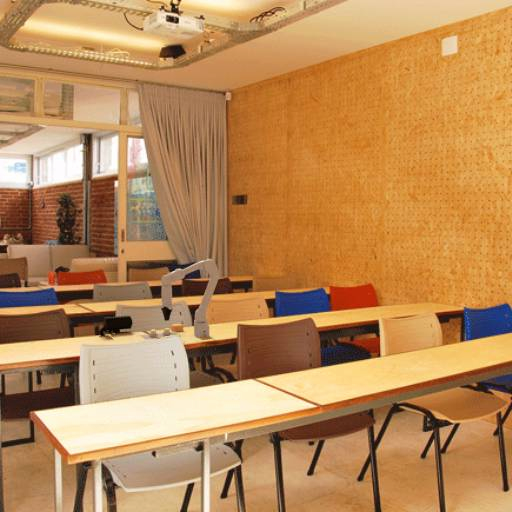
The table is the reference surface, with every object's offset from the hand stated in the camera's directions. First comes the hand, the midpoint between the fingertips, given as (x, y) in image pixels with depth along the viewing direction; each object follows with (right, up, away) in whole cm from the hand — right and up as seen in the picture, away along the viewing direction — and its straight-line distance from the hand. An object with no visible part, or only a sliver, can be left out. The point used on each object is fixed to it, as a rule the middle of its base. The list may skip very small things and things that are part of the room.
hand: (166, 320), depth 356 cm
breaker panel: (-4, -10, -1) cm, 10 cm away
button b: (-7, -7, -3) cm, 10 cm away
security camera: (-30, -9, +7) cm, 32 cm away
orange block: (+4, -8, +14) cm, 17 cm away
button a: (0, -7, 0) cm, 7 cm away
